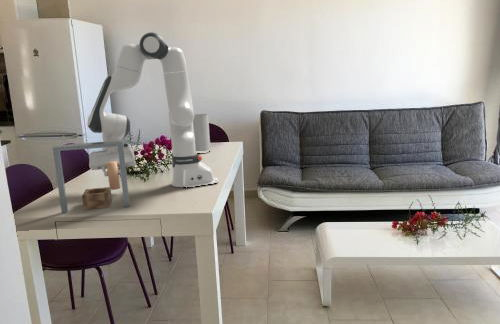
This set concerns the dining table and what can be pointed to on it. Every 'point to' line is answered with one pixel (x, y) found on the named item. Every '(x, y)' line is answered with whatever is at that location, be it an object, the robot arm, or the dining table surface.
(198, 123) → the cylinder vase
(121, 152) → the grey arch frame
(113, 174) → the terracotta peg
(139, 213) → the dining table surface
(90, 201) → the walnut socket
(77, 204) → the dining table surface
